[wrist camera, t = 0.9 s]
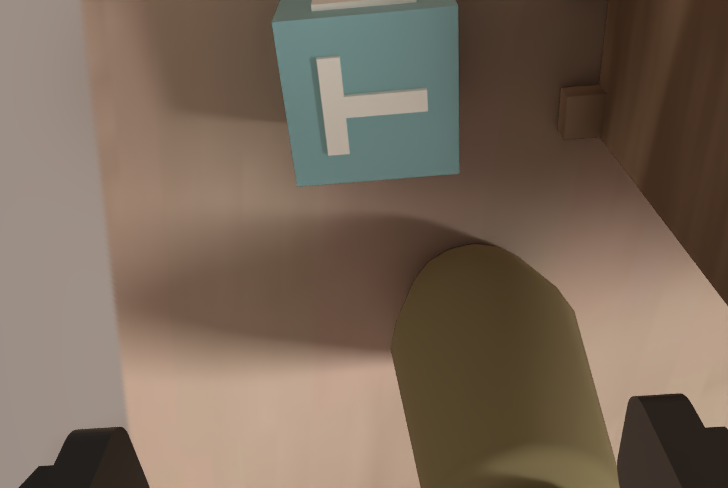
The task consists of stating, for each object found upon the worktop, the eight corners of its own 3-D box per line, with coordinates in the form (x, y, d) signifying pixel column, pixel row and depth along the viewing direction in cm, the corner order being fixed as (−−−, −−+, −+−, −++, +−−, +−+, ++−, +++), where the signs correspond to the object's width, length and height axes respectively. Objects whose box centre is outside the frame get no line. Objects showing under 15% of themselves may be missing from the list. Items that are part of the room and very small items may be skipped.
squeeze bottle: (426, 375, 35) (481, 805, 20) (358, 260, 31) (363, 691, 16) (576, 322, 33) (763, 751, 18) (525, 193, 29) (712, 606, 14)
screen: (720, -95, 23) (1007, -23, 13) (680, 122, 27) (871, 303, 17) (574, -82, 23) (745, 0, 13) (557, 132, 27) (675, 317, 17)
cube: (437, -38, 24) (458, 0, 19) (440, 112, 27) (459, 176, 22) (285, -24, 24) (269, 17, 19) (306, 123, 27) (296, 189, 22)
